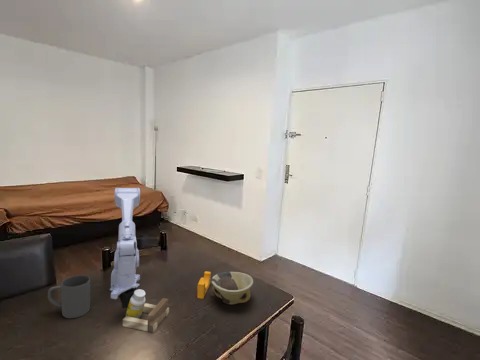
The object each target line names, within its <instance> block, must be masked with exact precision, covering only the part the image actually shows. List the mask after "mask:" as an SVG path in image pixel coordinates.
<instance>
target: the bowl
mask: <svg viewBox="0 0 480 360" xmlns="http://www.w3.org/2000/svg"><path fill="white" fill-rule="evenodd" d="M210 283H211V285H212V287H211V288H212V292H213V293H214V295H215V296H216V297H217V298H219V299H221V301H222V303H224V304H226V305H236V304H242V303H247V302H248V301H249V300H250V299H251V296H252V295H251V290H250V289H251V288H252V287H253V285H254V278H253V277H252V276H251V275H249V274H247V273H243V272H239V271H224V272H223V271H222V272H220V273H216V274H215V275H213V276H212V278H210ZM245 294H246V295H245ZM244 295H245V297H243V296H244Z"/></svg>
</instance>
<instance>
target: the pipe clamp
mask: <svg viewBox="0 0 480 360" xmlns="http://www.w3.org/2000/svg"><path fill="white" fill-rule="evenodd" d="M211 274H212V272H211V271H204V272H203V277H200V279H199V281H198V283H197V286H196V287H197V288H196V291H197V293H196V294H197V297H196V298H197V299H200V300H201V299H202V300H204V298H205V296H206V294H207V292H208V289H209V288H210V285H211V279H212V278H211V276H212V275H211Z"/></svg>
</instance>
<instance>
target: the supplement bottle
mask: <svg viewBox="0 0 480 360" xmlns="http://www.w3.org/2000/svg"><path fill="white" fill-rule="evenodd" d="M145 303H146V291H145V290H144V289H139V288H138V289H136V290H135V292H134V294H133V296H131V298H130V301H129V304H128V308H126V312H125V317H126V316H128V317H133V318H138V319H141V316H142V313H143V312H142V310H143V307H144V304H145Z"/></svg>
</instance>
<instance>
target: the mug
mask: <svg viewBox="0 0 480 360" xmlns="http://www.w3.org/2000/svg"><path fill="white" fill-rule="evenodd" d="M54 290H61V303H60V302H57V301H56V300H55V299H54V298H53V297H52V292H53V291H54ZM47 299H48V302H49V303H51V304H52V305H53V306H56V307H59V308H61V314H62V317H64V318H66V319H77V318H79V317H82V316H84V315H86V314H88V312H89V311H90V310H91V279H90V276H88V275H84V274H83V275H82V274H79V275H73V276H69V277H66V278H65V279H64V280H62V282H61V285H55V286H52V287H50V288H49V289H48V290H47Z"/></svg>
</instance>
